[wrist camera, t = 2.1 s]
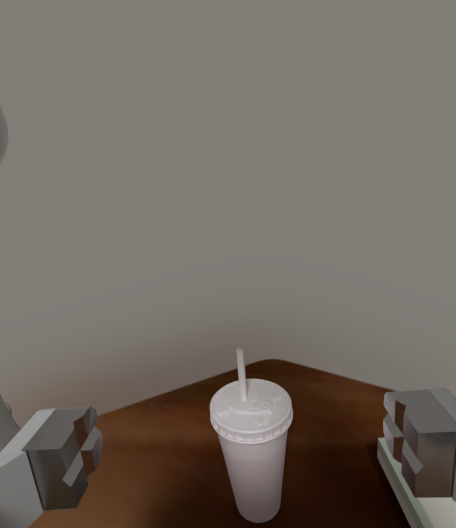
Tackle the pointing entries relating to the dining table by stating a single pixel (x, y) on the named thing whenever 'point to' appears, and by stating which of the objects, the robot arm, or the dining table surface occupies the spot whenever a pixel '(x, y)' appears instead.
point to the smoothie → (253, 440)
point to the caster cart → (416, 509)
